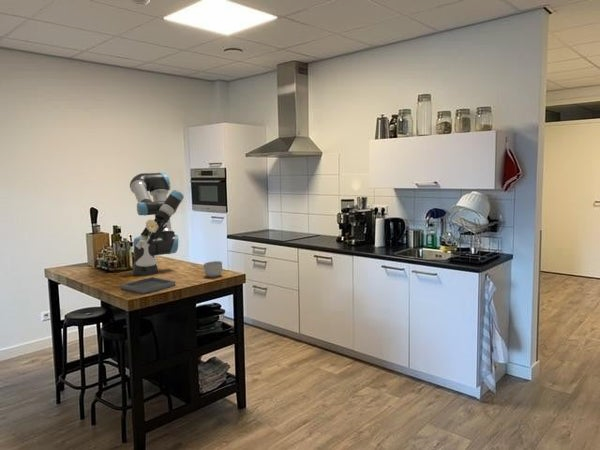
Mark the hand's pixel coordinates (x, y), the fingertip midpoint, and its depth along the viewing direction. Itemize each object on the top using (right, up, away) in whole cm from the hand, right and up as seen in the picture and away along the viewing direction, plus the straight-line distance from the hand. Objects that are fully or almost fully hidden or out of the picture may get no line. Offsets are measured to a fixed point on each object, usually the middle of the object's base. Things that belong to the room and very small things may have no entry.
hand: (140, 248), depth 244 cm
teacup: (+33, -18, +31) cm, 49 cm away
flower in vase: (+3, -10, +4) cm, 11 cm away
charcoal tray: (+2, -22, +5) cm, 22 cm away
